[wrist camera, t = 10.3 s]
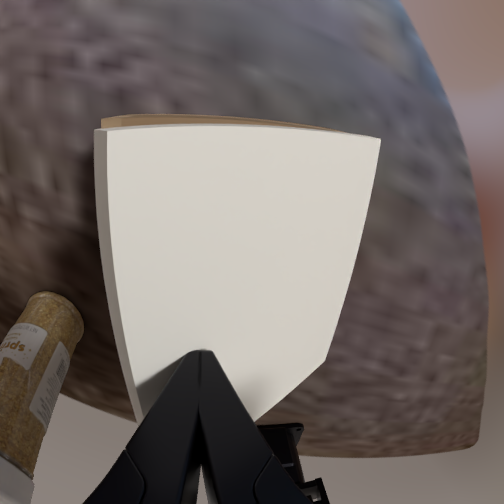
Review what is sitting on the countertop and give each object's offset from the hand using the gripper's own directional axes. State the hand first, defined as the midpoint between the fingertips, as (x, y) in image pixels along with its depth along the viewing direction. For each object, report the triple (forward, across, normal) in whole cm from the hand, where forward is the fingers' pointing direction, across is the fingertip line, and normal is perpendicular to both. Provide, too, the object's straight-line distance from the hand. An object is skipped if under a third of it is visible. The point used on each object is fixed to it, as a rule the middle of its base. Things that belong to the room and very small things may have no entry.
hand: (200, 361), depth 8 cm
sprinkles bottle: (+10, +10, +7) cm, 16 cm away
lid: (+2, -2, 0) cm, 3 cm away
